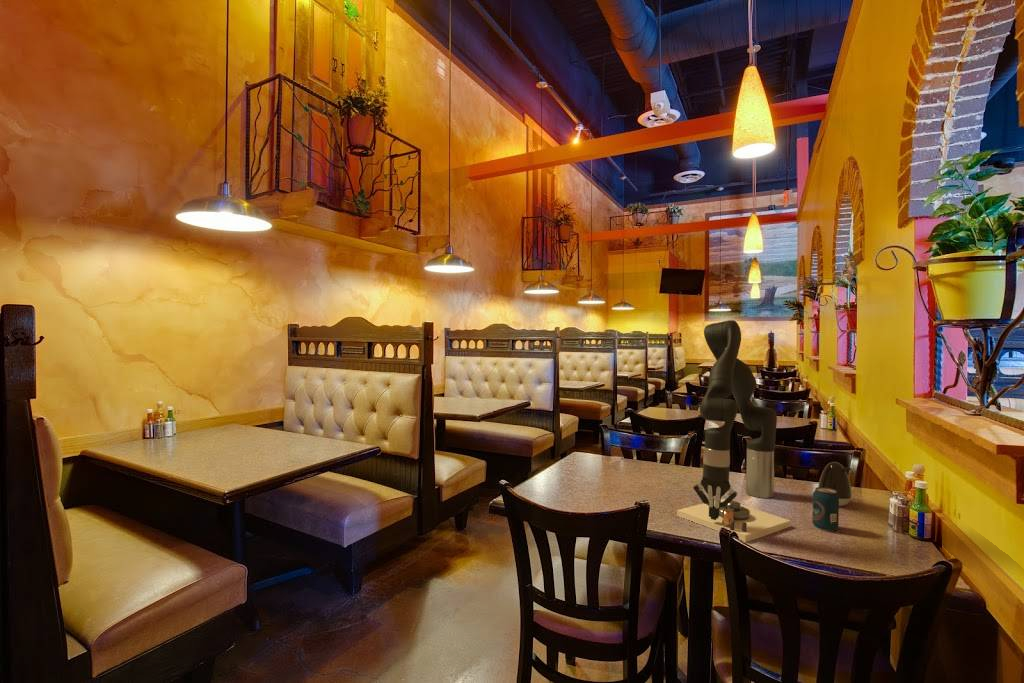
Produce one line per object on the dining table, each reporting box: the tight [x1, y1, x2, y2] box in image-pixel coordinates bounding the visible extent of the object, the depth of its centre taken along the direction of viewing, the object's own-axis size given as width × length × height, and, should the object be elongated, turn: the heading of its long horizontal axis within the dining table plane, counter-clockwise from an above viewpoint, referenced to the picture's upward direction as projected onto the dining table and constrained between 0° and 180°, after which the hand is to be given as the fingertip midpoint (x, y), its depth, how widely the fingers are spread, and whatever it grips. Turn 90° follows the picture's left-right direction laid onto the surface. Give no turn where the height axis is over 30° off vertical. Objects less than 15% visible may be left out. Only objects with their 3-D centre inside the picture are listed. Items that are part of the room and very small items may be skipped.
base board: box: [676, 498, 791, 543], centre depth 158 cm, size 24×24×4 cm
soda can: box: [811, 486, 840, 532], centre depth 154 cm, size 7×7×12 cm
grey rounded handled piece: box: [719, 500, 750, 526], centre depth 155 cm, size 18×10×4 cm, turn 149°
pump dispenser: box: [817, 461, 853, 507], centre depth 178 cm, size 10×10×15 cm
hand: (713, 518), depth 151 cm, fingers closed
